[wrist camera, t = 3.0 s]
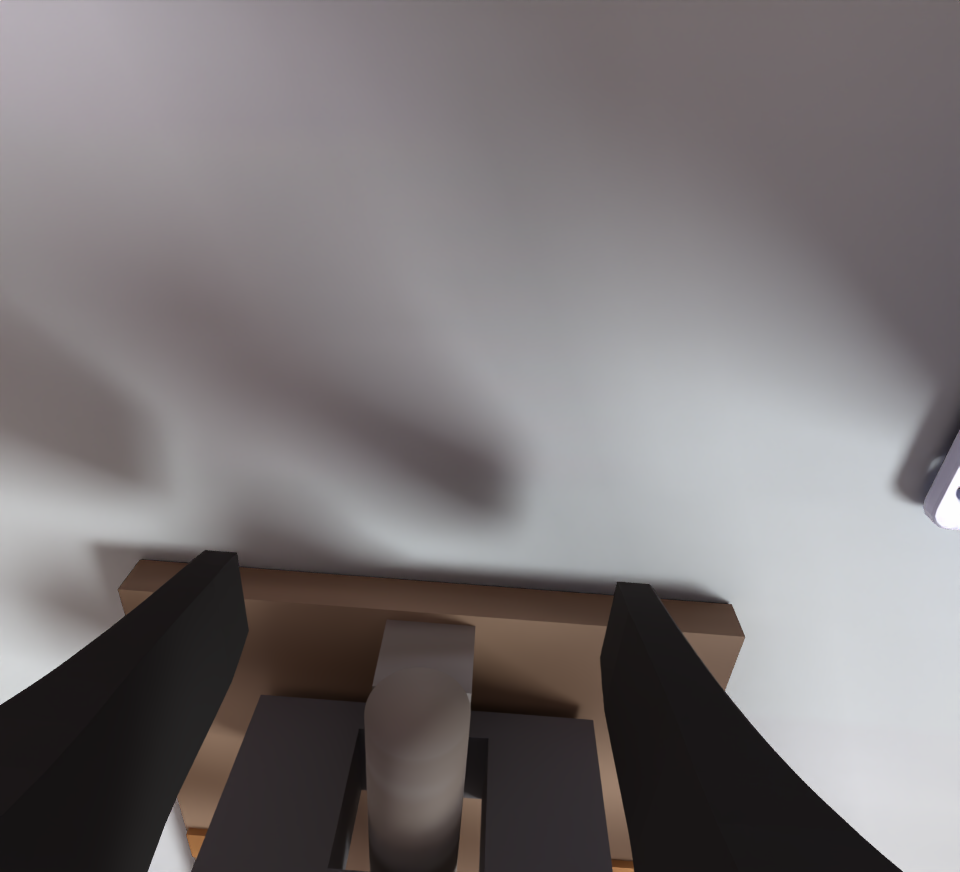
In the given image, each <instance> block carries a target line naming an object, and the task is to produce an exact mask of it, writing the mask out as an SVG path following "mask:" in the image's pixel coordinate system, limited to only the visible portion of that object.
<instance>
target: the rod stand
mask: <svg viewBox="0 0 960 872" xmlns="http://www.w3.org/2000/svg"><path fill="white" fill-rule="evenodd" d="M187 564H189V563H178V562H165V561H152V560H139V562H138V563H137V564H136V566H135V567H134V568H133V570H132V571H131V572H130V574H129V575H128V576H127V578H126V579H125V580H124V582H123V583H122V584H121V586H120V587H119V588H118V592H119V595H120V599H121V602H122V606H123V609H124V613H125V616H126V615H127V614H128V613H129V612H131V611H132V610H133V609H134V608H136V607H137V606H138V605H139V604H141V603H142V602H143V601H144V600H145V599H147V598H148V597H149V596H150V595H151V594H153V593H154V592H155V591H156V590H157V589H159V588H160V587H161V586H162V585H163V584H165V583H166V582H167V581H168V580H169V579H171V578H172V577H173V576H174V575H175V574H176V573H178V572H179V571H180V570H181V569H182V568H184V567H185V566H186V565H187ZM239 570H240V576H241V583H242V589H243V595H244V602H245V608H246V615H247V621H248V628H249V632H248V635H247V638H246V641H245V644H244V648H243V651H242V654H241V657H240V660H239V663H238V666H237V669H236V671H235V674H234V677H233V680H232V683H231V685H230V687H229V689H228V691H227V693H226V696H225V698H224V700H223V702H222V704H221V706H220V708H219V710H218V712H217V715H216V717H215V719H214V721H213V723H212V725H211V727H210V729H209V731H208V733H207V736H206V738H205V740H204V742H203V744H202V746H201V748H200V750H199V752H198V754H197V756H196V758H195V760H194V763H193V765H192V767H191V769H190V771H189V773H188V775H187V777H186V779H185V781H184V783H183V785H182V787H181V790H180V792H179V794H178V796H177V798H178V802H179V805H180V809H181V812H182V816H183V819H184V823H185V826H186V830H187V834H186V836H187V839H188V843H189V846H190V850H191V853H192V857H194V858H195V861H196V858H197V856H198V853H199V851H200V848H201V846H202V843H203V840H204V838H205V835H206V833H207V830H208V828H209V825H210V823H211V820H212V818H213V815H214V812H215V810H216V807H217V805H218V802H219V800H220V797H221V795H222V792H223V790H224V787H225V784H226V782H227V779H228V777H229V774H230V772H231V769H232V767H233V764H234V762H235V759H236V756H237V754H238V751H239V749H240V746H241V744H242V741H243V739H244V736H245V734H246V731H247V728H248V726H249V723H250V721H251V718H252V716H253V713H254V711H255V708H256V706H257V703H258V701H259V698H260V695H272V696H285V697H298V698H311V699H324V700H338V701H351V702H364V703H366V705H365V711H364V722H365V750H366V777H367V790H361V795H360V800H359V805H358V810H357V815H356V820H355V825H354V830H353V834H352V839H351V844H350V849H349V854H348V859H347V864H346V869H345V870H355V871H369V872H479V856H480V828H481V801H482V799H472V798H463V795H464V783H465V772H466V761H467V750H468V739H469V728H470V716H471V711H483V712H496V713H509V714H522V715H536V716H549V717H562V718H575V719H589V720H593V723H594V731H595V738H596V746H597V754H598V761H599V769H600V777H601V784H602V792H603V800H604V807H605V815H606V823H607V831H608V838H609V846H610V854H611V861H612V869H613V872H634V866H633V858H632V852H631V845H630V839H629V833H628V828H627V823H626V818H625V813H624V808H623V803H622V798H621V793H620V788H619V783H618V778H617V773H616V768H615V763H614V758H613V753H612V748H611V743H610V738H609V733H608V728H607V723H606V717H605V712H604V703H603V692H602V680H601V667H600V655H601V650H602V646H603V642H604V637H605V633H606V628H607V624H608V620H609V615H610V611H611V607H612V602H613V598H614V595H601V594H588V593H574V592H561V591H548V590H535V589H522V588H508V587H495V586H482V585H469V584H456V583H442V582H429V581H416V580H403V579H389V578H376V577H363V576H350V575H337V574H323V573H310V572H297V571H284V570H271V569H257V568H244V567H239ZM660 600H661V601H662V603H663V604H664V606H665V608H666V609H667V611H668V612H669V614H670V615H671V617H672V618H673V620H674V621H675V623H676V624H677V626H678V627H679V629H680V630H681V632H682V633H683V635H684V636H685V637H686V639H687V640H688V642H689V643H690V645H691V646H692V648H693V649H694V650H695V652H696V653H697V655H698V656H699V657H700V659H701V660H702V661H703V663H704V664H705V665H706V667H707V668H708V670H709V671H710V672H711V674H712V675H713V676H714V678H715V679H716V680H717V682H718V683H719V684H720V686H721V687H722V688H723V690H724V691H725V689H726V686H727V683H728V681H729V678H730V676H731V673H732V670H733V668H734V665H735V662H736V660H737V657H738V654H739V652H740V649H741V647H742V644H743V641H744V639H745V635H744V633H743V630H742V628H741V626H740V623H739V621H738V618H737V616H736V614H735V611H734V609H733V606H732V604H720V603H706V602H693V601H680V600H667V599H660Z"/></svg>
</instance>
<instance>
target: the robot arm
mask: <svg viewBox="0 0 960 872" xmlns="http://www.w3.org/2000/svg"><path fill="white" fill-rule="evenodd" d="M959 486H960V430H959V432H958V434H957V436H956V438H955V440H954V442H953V444H952V446H951V448H950V450H949V452H948V454H947V456H946V458H945V460H944V462H943V464H942V466H941V468H940V470H939V472H938V474H937V476H936V478H935V480H934V482H933V484H932V486H931V488H930V490H929V492H928V494H927V496H926V498H925V501H924V505H923V509H924V512H925V514H926V515H927V516H928V517H929V518H930V519H931V520H932V522H933V523H935V524H936V525H937V526H938V527H941V528H944V529H951V530H960V489H959V490H957V489H958V488H959ZM248 632H249V628H248V621H247V615H246V608H245V602H244V595H243V589H242V583H241V576H240V570H239V563H238V557H237V553H234V552H221V551H208V550H205V551H203V552H202V553H201V554H200V555H198V556H197V557H196V558H195V559H193V560H192V561H191V562H190V563H189V564H187V565H186V566H185V567H184V568H182V569H181V570H180V571H179V572H178V573H176V574H175V575H174V576H173V577H172V578H171V579H169V580H168V581H167V582H166V583H165V584H163V585H162V586H161V587H160V588H159V589H157V590H156V591H155V592H154V593H153V594H151V595H150V596H149V597H148V598H147V599H145V600H144V601H143V602H142V603H141V604H139V605H138V606H137V607H136V608H134V609H133V610H132V611H131V612H129V613H128V614H127V615H126V616H124V617H123V618H122V619H121V620H119V621H118V622H117V623H116V624H114V625H113V626H112V627H111V628H109V629H108V630H107V631H106V632H104V633H103V634H102V635H100V636H99V637H98V638H96V639H95V640H94V641H92V642H91V643H90V644H88V645H87V646H86V647H84V648H83V649H82V650H80V651H79V652H77V653H76V654H75V655H73V656H72V657H71V658H69V659H68V660H67V661H65V662H64V663H63V664H61V665H60V666H59V667H57V668H56V669H54V670H53V671H51V672H50V673H49V674H47V675H46V676H44V677H43V678H41V679H40V680H38V681H37V682H35V683H34V684H32V685H31V686H29V687H28V688H26V689H25V690H23V691H22V692H20V693H18V694H17V695H15V696H14V697H12V698H11V699H9V700H7V701H6V702H4V703H3V704H1V705H0V872H148V869H149V866H150V864H151V861H152V858H153V856H154V853H155V850H156V848H157V845H158V842H159V839H160V837H161V834H162V831H163V829H164V826H165V823H166V821H167V819H168V816H169V814H170V812H171V810H172V807H173V805H174V803H175V800H176V798H177V796H178V794H179V792H180V790H181V787H182V785H183V783H184V781H185V779H186V777H187V775H188V773H189V771H190V769H191V767H192V765H193V763H194V760H195V758H196V756H197V754H198V752H199V750H200V748H201V746H202V744H203V742H204V740H205V738H206V736H207V733H208V731H209V729H210V727H211V725H212V723H213V721H214V719H215V717H216V715H217V712H218V710H219V708H220V706H221V704H222V702H223V700H224V698H225V696H226V693H227V691H228V689H229V687H230V685H231V683H232V680H233V677H234V674H235V671H236V669H237V666H238V663H239V660H240V657H241V654H242V651H243V648H244V644H245V641H246V638H247V635H248ZM600 667H601V680H602V692H603V703H604V712H605V717H606V723H607V728H608V733H609V738H610V743H611V748H612V753H613V758H614V763H615V768H616V773H617V778H618V783H619V788H620V793H621V798H622V803H623V808H624V813H625V818H626V823H627V828H628V833H629V839H630V845H631V852H632V858H633V866H634V872H903V871H901V870H900V869H899V868H898V867H897V866H895V865H894V864H893V863H892V862H891V861H890V860H888V859H887V858H886V857H885V856H884V855H882V854H881V853H880V852H879V851H878V850H877V849H876V848H874V847H873V846H872V845H871V844H870V843H869V842H868V841H866V840H865V839H864V838H863V837H862V836H861V835H860V834H859V833H858V832H857V831H855V830H854V829H853V828H852V827H851V826H850V825H849V824H848V823H847V822H846V821H845V820H844V819H843V818H842V817H840V816H839V815H838V814H837V813H836V812H835V811H834V810H833V809H832V808H831V807H830V806H829V805H828V804H826V803H825V802H824V801H823V800H822V799H821V798H820V797H819V796H818V795H817V794H816V793H815V792H814V791H813V790H812V789H811V788H810V787H809V786H808V785H807V784H806V783H805V782H804V781H803V780H802V779H801V778H800V777H799V776H798V775H797V774H796V773H795V772H794V771H793V770H792V769H791V768H790V767H789V766H788V764H787V763H786V762H785V761H784V760H783V759H782V758H781V757H780V756H779V755H778V754H777V753H776V752H775V751H774V749H773V748H772V747H771V746H770V745H769V744H768V743H767V742H766V740H765V739H764V738H763V737H762V736H761V735H760V734H759V732H758V731H757V730H756V729H755V728H754V727H753V725H752V724H751V723H750V722H749V721H748V719H747V718H746V717H745V716H744V714H743V713H742V712H741V711H740V710H739V708H738V707H737V706H736V705H735V703H734V702H733V701H732V700H731V699H730V697H729V696H728V695H727V693H726V692H725V691H724V690H723V688H722V687H721V686H720V684H719V683H718V682H717V680H716V679H715V678H714V676H713V675H712V674H711V672H710V671H709V670H708V668H707V667H706V665H705V664H704V663H703V661H702V660H701V659H700V657H699V656H698V655H697V653H696V652H695V650H694V649H693V648H692V646H691V645H690V643H689V642H688V640H687V639H686V637H685V636H684V635H683V633H682V632H681V630H680V629H679V627H678V626H677V624H676V623H675V621H674V620H673V618H672V617H671V615H670V614H669V612H668V611H667V609H666V608H665V606H664V604H663V603H662V601H661V600H660V598H659V597H658V595H657V594H656V592H655V591H654V589H653V588H652V587H651V586H650V584H638V583H625V582H617V585H616V589H615V594H614V598H613V602H612V607H611V611H610V615H609V620H608V624H607V628H606V633H605V637H604V642H603V646H602V650H601V655H600Z"/></svg>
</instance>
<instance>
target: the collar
mask: <svg viewBox="0 0 960 872" xmlns="http://www.w3.org/2000/svg"><path fill="white" fill-rule="evenodd" d="M365 705H366V703H364V702H351V701H338V700H324V699H311V698H298V697H285V696H272V695H260V698H259V701H258V703H257V706H256V708H255V711H254V713H253V716H252V718H251V721H250V723H249V726H248V728H247V731H246V734H245V736H244V739H243V741H242V744H241V746H240V749H239V751H238V754H237V756H236V759H235V762H234V764H233V767H232V769H231V772H230V774H229V777H228V779H227V782H226V784H225V787H224V790H223V792H222V795H221V797H220V800H219V802H218V805H217V807H216V810H215V812H214V815H213V818H212V820H211V823H210V825H209V828H208V830H207V833H206V835H205V838H204V840H203V843H202V846H201V848H200V851H199V853H198V856H197V858H196V861H195V863H194V866H193V868H192V871H191V872H369V871H355V870H345V869H346V864H347V859H348V854H349V849H350V844H351V839H352V834H353V830H354V825H355V820H356V815H357V810H358V805H359V800H360V795H361V790H367V777H366V750H365V722H364V711H365ZM463 798H472V799H482V801H481V828H480V856H479V872H613V869H612V861H611V854H610V846H609V838H608V831H607V823H606V815H605V807H604V800H603V792H602V784H601V777H600V769H599V761H598V754H597V746H596V738H595V731H594V723H593V720H589V719H575V718H562V717H549V716H536V715H522V714H509V713H496V712H483V711H471V716H470V728H469V739H468V750H467V761H466V772H465V783H464V795H463Z"/></svg>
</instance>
